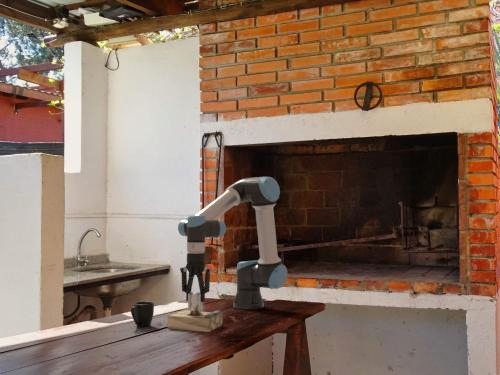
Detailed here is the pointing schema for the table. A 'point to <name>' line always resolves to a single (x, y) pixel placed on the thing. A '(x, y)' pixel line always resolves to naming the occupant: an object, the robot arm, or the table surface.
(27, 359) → the table surface
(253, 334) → the table surface
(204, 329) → the block
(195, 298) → the cylinder
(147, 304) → the mug
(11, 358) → the table surface
